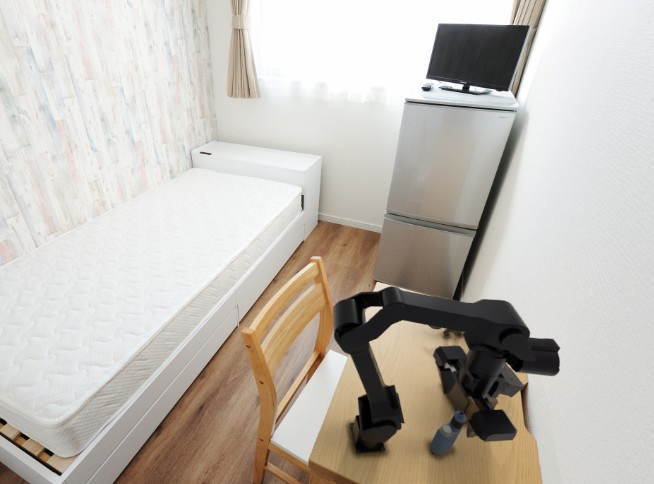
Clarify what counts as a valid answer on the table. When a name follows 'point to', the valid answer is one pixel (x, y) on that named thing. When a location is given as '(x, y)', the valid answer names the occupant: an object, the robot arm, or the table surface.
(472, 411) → the radio
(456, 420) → the vaping device
